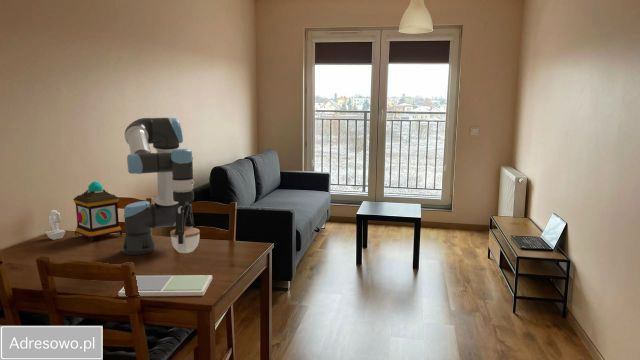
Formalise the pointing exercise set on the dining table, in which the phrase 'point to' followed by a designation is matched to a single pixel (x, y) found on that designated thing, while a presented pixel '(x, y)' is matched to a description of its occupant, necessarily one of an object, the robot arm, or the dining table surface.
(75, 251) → the dining table surface
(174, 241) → the lidded jar
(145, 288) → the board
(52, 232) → the figurine
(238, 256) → the dining table surface
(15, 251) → the dining table surface
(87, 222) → the decorative lantern
